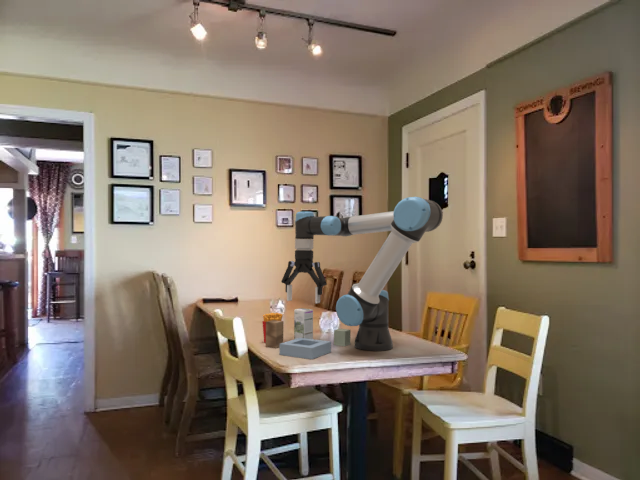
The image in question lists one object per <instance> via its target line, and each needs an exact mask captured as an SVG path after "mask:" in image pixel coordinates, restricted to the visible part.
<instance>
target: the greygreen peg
mask: <svg viewBox="0 0 640 480" xmlns="http://www.w3.org/2000/svg"><path fill="white" fill-rule="evenodd" d="M351 331H352V330H351V329H349V328H337V329H334V330H333V345H334V346H339V347H340V346H341V347H347V346H350V345H351V334H352V333H351Z"/></svg>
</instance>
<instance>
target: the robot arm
mask: <svg viewBox="0 0 640 480" xmlns="http://www.w3.org/2000/svg"><path fill="white" fill-rule="evenodd" d="M443 217H444V216H443V210H442V208H441V206H440V205H439V204H438V202H435V200H431V199H425V198H422V197H419V196H409V197H404V198H403V199H401V200H400V201H398V203H397V204H396V205H395V207H394V209H393V211H391V210H390V211H386V212H378V213H376V212H375V213H371V214H361V215H355V216H347V217H338V216H334V215H325V216H322V215H321V216H320V215H319V216H315V213H314V211H297V212H296V214H295V221H294V223H295V224H294V227H295V228H294V229H295V231H294V232H295V238H294V249H296V250H294V261H293V260H289V261H288V262H287V267H286V270H285V272H284V274H283V276H282V279H281V283H282V284H284V286H285V293H286V301H287V302H290V301H293V284H292V283H293V281H294V280H295V279H296V277H297V276H298V275H299V274H300V273H305V274H307V275H309V276H310V277H311V279H312V281H313V282H314V283H315V285H316V286H315V290H314V291H315V294H314V295H315V297H314V299H315V301H314V303H315V304H320V303H321V295H323V287H325V286H327V284H328V283H327V280H326V278H325V275H324V273H323V270H322V268H321V263H320V261H315V262H314V250H313V249H314V241H315V240H314V236H338V237H339V236H340V237H350V236H353V235H355V236H356V235H363V234H373V233H382V232H383V233H384V232H390V233H389V234H388V236H387V238H386V240H385V241H384V242H383V244H382V246H381V248H379V250H378V252H377V253H376V255H375V257H374V259H373V260H372V261H371V263H370V265H369V266H368V268H367V269H366V271H365V273H364V274H363V276H362V277H361V279H360V280H359V282H358V283H353V284H352V286H351V287H350V289H349V291H347V294H343V295H342V296H339V298H338V300H337V301H336V305H335V311H336V316H337V318H338V320H339V321H340V322H341V323H342V324H344V325H345V326H348V327H357V326H358V330H357V333H356V336H355V338H354V348H356V349H357V350H358V349H359V350H363V351H371V352H375V351H378V352H379V351H380V352H381V351H388V350H392V349H393V347H394V346H393V343H394V342H393V339H392V336H391V332H390V328H389V308H390V307H389V301H390V298H389V292H388V291H387V290H385V289H384V288H385V287H386V285H387V283H388V282H389V280H390V278H391V277H392V276H393V274H394V272H395V271H396V269H397V268H398V267H399V265H400V263H401V262H402V260H403V259H404V258H405V255H406V254H407V252H408V251H409V250H410V248H411V247H412V245H413V244H414V243H419V242H420V240H421V239H422V238H423V236H424V235H425V233H426V232H432V231H434V230H436V229H438V228H439V226H440V225H441V223H442V222H443ZM294 267H295V268H294Z"/></svg>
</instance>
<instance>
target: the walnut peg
mask: <svg viewBox="0 0 640 480" xmlns="http://www.w3.org/2000/svg"><path fill="white" fill-rule="evenodd" d="M281 343H284V320H282V321H277V320H272V321H267V322H266V343H265V348H271V349H280V344H281Z"/></svg>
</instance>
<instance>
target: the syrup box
mask: <svg viewBox="0 0 640 480" xmlns="http://www.w3.org/2000/svg"><path fill="white" fill-rule="evenodd" d="M293 311H294V312H293V313H294V315H293V319H294V320H293V322H294V323H293V324H294V325H293V331H294V332H293V335H294V336H293V340H294V339H297V338H306V339H314V309H312V308H311V309H310V308H303V307H301V308H295V309H294V310H293Z"/></svg>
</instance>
